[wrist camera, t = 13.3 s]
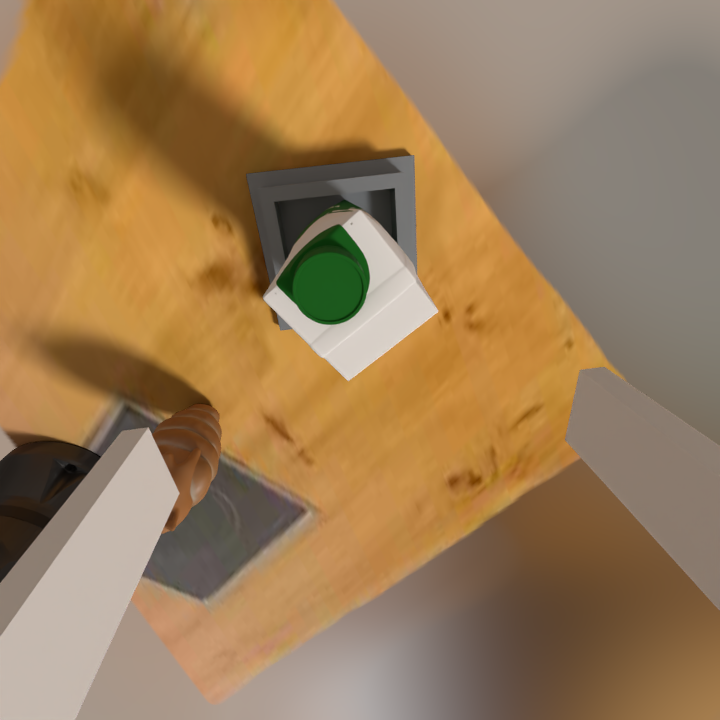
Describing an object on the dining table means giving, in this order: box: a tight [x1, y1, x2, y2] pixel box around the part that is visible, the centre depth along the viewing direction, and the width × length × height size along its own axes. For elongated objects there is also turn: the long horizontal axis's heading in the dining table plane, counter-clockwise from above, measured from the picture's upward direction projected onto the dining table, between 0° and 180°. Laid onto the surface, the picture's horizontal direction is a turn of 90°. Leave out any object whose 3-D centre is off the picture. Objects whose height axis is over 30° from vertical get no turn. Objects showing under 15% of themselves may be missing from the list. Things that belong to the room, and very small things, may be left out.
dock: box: [246, 155, 417, 330], centre depth 37 cm, size 16×16×4 cm
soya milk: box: [263, 199, 438, 381], centre depth 29 cm, size 9×9×20 cm
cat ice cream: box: [152, 404, 222, 534], centre depth 38 cm, size 9×8×18 cm
